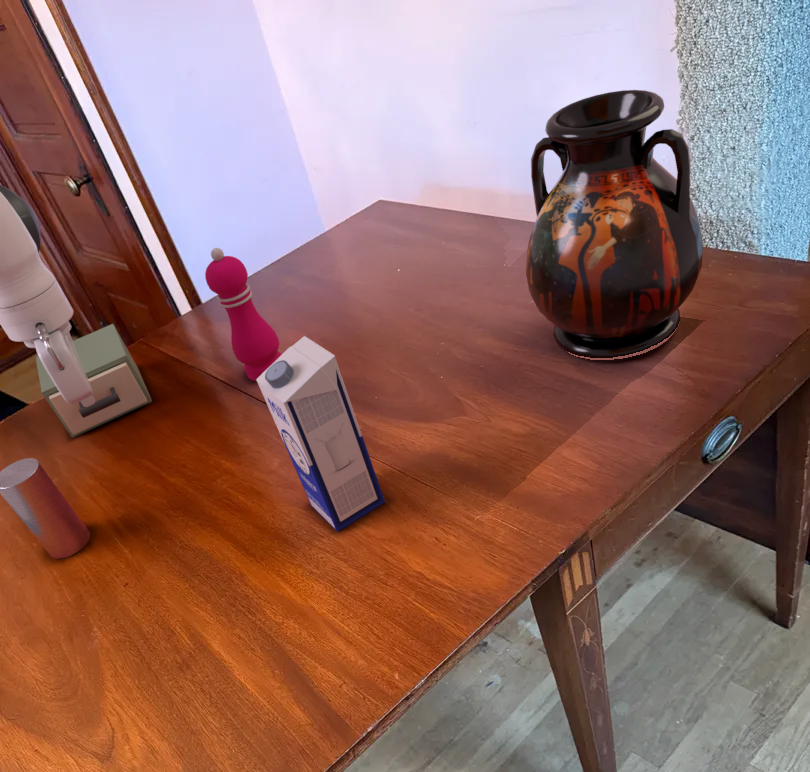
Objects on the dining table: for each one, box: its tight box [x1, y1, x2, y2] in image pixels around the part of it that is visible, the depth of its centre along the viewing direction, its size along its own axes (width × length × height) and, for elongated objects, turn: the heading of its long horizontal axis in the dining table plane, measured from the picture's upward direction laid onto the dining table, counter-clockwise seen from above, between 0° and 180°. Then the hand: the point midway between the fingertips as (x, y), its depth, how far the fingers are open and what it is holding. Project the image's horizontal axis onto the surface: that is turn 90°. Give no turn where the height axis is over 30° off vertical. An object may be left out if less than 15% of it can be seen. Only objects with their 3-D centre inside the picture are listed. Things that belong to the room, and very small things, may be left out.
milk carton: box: [256, 335, 386, 532], centre depth 82 cm, size 7×7×20 cm
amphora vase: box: [525, 89, 704, 363], centre depth 92 cm, size 22×22×28 cm
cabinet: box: [35, 323, 153, 439], centre depth 121 cm, size 15×14×9 cm
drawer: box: [49, 362, 147, 435], centre depth 119 cm, size 18×12×7 cm
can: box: [0, 457, 91, 560], centre depth 93 cm, size 6×6×12 cm
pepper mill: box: [204, 247, 282, 382], centre depth 112 cm, size 7×7×20 cm
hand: (89, 401), depth 106 cm, fingers closed
